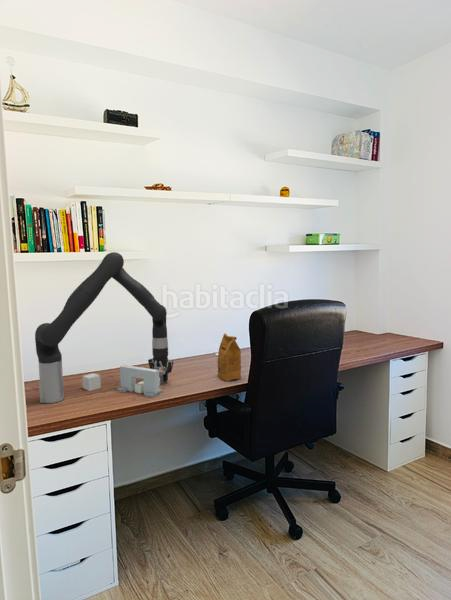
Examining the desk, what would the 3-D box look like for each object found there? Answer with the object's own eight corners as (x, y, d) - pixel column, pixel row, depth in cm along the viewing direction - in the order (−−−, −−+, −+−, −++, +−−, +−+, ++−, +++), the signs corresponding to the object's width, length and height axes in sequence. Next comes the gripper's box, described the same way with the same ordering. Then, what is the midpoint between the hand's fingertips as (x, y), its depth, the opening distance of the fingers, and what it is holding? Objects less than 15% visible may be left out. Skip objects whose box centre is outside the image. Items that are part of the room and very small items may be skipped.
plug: (141, 393, 188) (141, 383, 188) (134, 392, 190) (133, 382, 190) (167, 381, 205) (166, 373, 204) (159, 380, 207) (159, 372, 207)
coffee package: (232, 373, 219) (232, 331, 217) (243, 379, 208) (243, 336, 205) (214, 376, 215) (214, 333, 212) (225, 382, 203) (224, 337, 201)
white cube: (82, 388, 197) (82, 375, 196) (94, 385, 201) (93, 373, 201) (89, 391, 193) (88, 378, 192) (100, 388, 197) (100, 375, 197)
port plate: (151, 397, 183) (151, 373, 181) (117, 391, 192) (116, 367, 191) (162, 392, 190) (162, 368, 188) (128, 386, 199) (128, 363, 198)
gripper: (176, 346, 202) (177, 380, 204) (153, 343, 209) (154, 376, 211) (167, 349, 196) (168, 384, 198) (143, 346, 203) (144, 380, 205)
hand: (161, 380), depth 204 cm, fingers closed on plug, 4 cm apart
